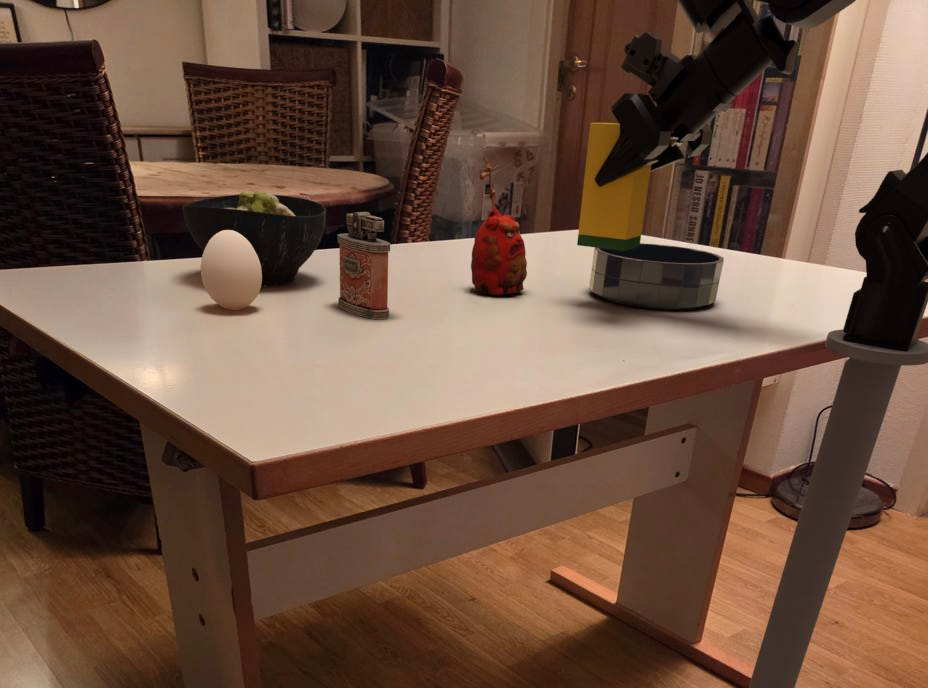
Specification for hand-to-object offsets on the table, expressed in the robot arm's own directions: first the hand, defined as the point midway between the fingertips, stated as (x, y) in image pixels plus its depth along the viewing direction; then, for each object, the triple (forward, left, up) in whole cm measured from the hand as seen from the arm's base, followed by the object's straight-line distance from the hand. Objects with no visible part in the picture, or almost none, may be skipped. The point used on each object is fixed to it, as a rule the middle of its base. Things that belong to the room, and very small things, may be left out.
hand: (606, 182), depth 100 cm
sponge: (-1, 0, -7) cm, 7 cm away
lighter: (+16, +24, -14) cm, 32 cm away
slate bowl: (-4, -11, -13) cm, 18 cm away
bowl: (+36, +20, -14) cm, 44 cm away
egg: (+26, +34, -14) cm, 45 cm away
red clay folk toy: (+12, +2, -14) cm, 19 cm away
